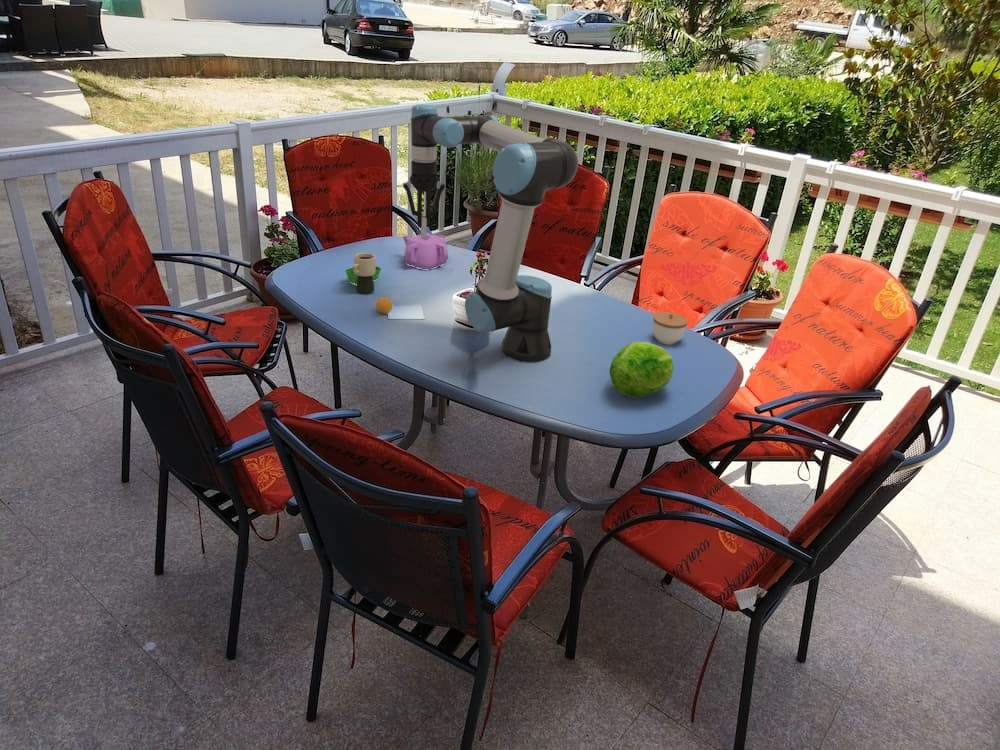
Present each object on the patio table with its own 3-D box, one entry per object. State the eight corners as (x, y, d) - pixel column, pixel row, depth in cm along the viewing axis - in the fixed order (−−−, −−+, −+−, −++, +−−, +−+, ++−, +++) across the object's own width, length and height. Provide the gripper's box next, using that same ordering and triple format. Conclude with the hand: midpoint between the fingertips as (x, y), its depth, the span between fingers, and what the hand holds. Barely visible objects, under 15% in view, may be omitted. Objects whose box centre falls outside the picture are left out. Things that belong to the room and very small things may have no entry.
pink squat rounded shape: (406, 271, 268) (407, 240, 263) (402, 257, 283) (402, 227, 277) (450, 271, 272) (452, 240, 266) (444, 257, 287) (445, 227, 281)
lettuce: (630, 364, 209) (676, 389, 202) (590, 390, 193) (639, 418, 186) (644, 321, 201) (693, 345, 194) (603, 345, 185) (655, 373, 178)
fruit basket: (367, 276, 262) (366, 246, 256) (384, 282, 257) (384, 252, 252) (344, 283, 253) (343, 253, 248) (362, 290, 249) (361, 259, 244)
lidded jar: (661, 330, 236) (666, 304, 231) (689, 342, 229) (695, 315, 225) (643, 338, 229) (647, 312, 224) (670, 350, 222) (676, 323, 218)
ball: (371, 311, 231) (385, 319, 233) (378, 303, 227) (393, 311, 229) (375, 299, 234) (390, 306, 236) (382, 290, 230) (397, 298, 232)
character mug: (368, 284, 254) (367, 250, 247) (383, 289, 250) (383, 254, 244) (347, 293, 245) (345, 257, 239) (362, 298, 242) (361, 262, 236)
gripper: (443, 158, 215) (442, 233, 226) (401, 157, 213) (401, 234, 223) (447, 162, 209) (445, 240, 219) (403, 162, 206) (403, 240, 217)
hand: (423, 237), depth 221 cm, fingers closed
